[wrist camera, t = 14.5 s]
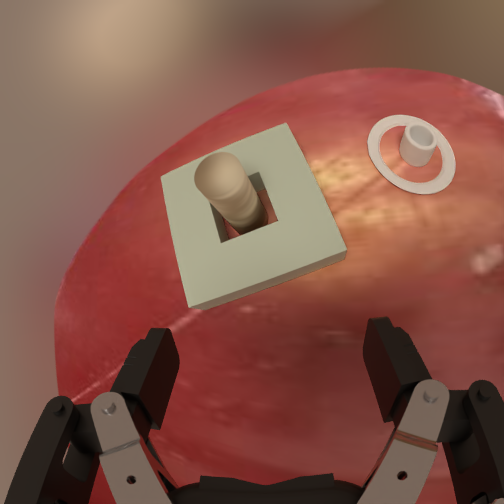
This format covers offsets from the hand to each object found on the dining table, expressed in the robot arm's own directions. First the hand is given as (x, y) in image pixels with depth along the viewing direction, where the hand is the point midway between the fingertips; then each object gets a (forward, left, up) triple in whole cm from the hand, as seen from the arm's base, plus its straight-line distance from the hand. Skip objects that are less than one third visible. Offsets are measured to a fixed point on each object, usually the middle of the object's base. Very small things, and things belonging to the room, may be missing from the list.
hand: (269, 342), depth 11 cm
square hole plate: (+1, -13, -18) cm, 23 cm away
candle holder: (-21, -15, -19) cm, 31 cm away
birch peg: (+1, -13, -18) cm, 23 cm away
